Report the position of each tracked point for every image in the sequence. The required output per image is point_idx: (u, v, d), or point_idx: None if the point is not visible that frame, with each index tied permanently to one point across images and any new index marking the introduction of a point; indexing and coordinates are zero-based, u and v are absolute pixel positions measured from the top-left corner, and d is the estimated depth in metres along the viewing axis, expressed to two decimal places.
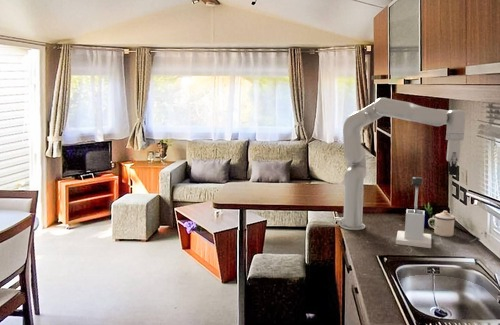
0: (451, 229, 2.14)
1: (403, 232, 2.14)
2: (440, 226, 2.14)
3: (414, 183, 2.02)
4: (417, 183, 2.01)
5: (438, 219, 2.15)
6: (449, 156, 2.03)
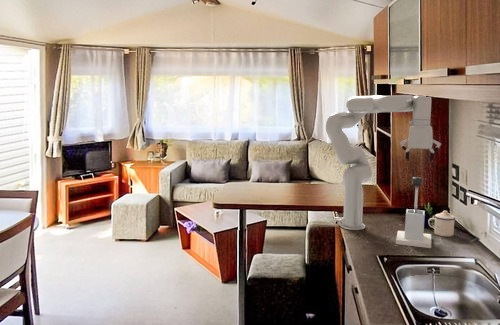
0: (451, 229, 2.14)
1: (403, 232, 2.14)
2: (440, 226, 2.14)
3: (414, 183, 2.02)
4: (417, 183, 2.01)
5: (438, 219, 2.15)
6: None
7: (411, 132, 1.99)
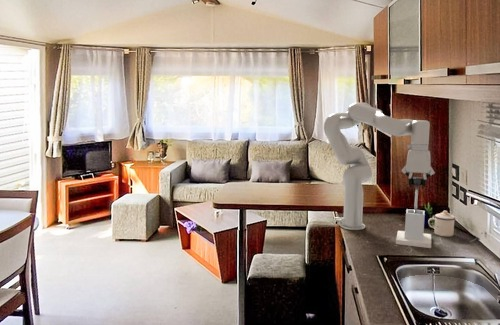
0: (451, 229, 2.14)
1: (403, 232, 2.14)
2: (440, 226, 2.14)
3: (414, 183, 2.02)
4: (417, 183, 2.01)
5: (438, 219, 2.15)
6: (430, 167, 1.99)
7: (409, 156, 2.01)
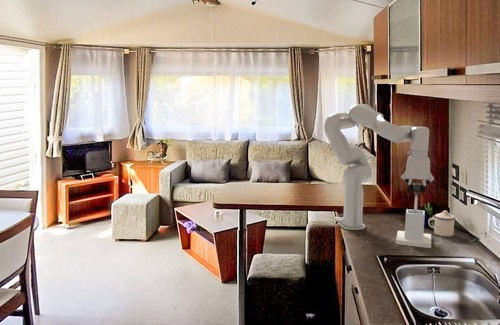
0: (451, 229, 2.14)
1: (403, 232, 2.14)
2: (440, 226, 2.14)
3: (414, 189, 2.02)
4: (417, 189, 2.02)
5: (438, 219, 2.15)
6: (429, 174, 1.99)
7: (409, 163, 2.01)
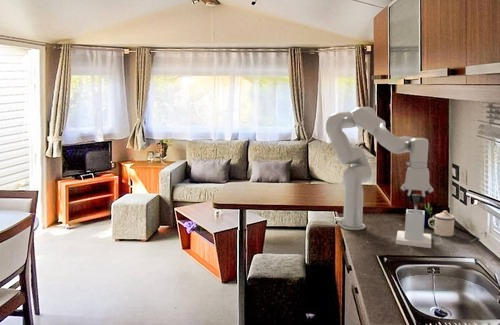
0: (451, 229, 2.14)
1: (403, 232, 2.14)
2: (440, 226, 2.14)
3: (413, 200, 2.03)
4: (416, 200, 2.02)
5: (438, 219, 2.15)
6: (428, 185, 2.00)
7: (408, 174, 2.02)
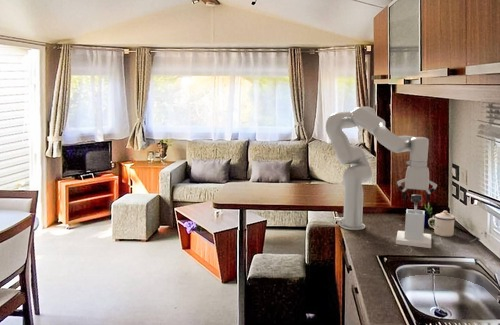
0: (451, 229, 2.14)
1: (403, 232, 2.14)
2: (440, 226, 2.14)
3: (413, 200, 2.03)
4: (416, 200, 2.02)
5: (438, 219, 2.15)
6: (428, 184, 2.00)
7: (408, 173, 2.02)
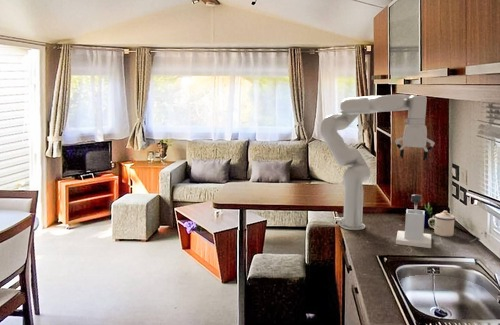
0: (451, 229, 2.14)
1: (403, 232, 2.14)
2: (440, 226, 2.14)
3: (413, 200, 2.03)
4: (416, 200, 2.02)
5: (438, 219, 2.15)
6: None
7: (406, 131, 2.04)
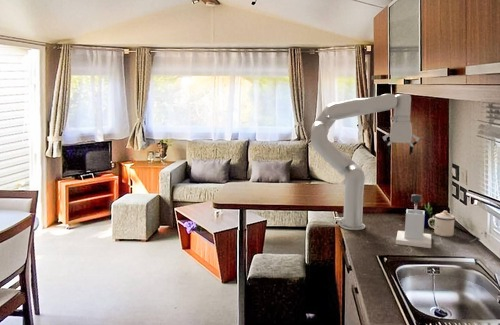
0: (451, 229, 2.14)
1: (403, 232, 2.14)
2: (440, 226, 2.14)
3: (413, 200, 2.03)
4: (416, 200, 2.02)
5: (438, 219, 2.15)
6: (411, 137, 2.17)
7: (392, 127, 2.19)
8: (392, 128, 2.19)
